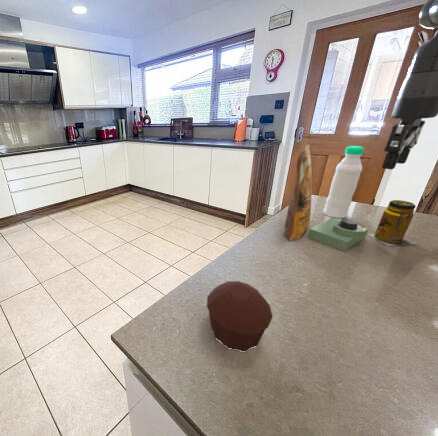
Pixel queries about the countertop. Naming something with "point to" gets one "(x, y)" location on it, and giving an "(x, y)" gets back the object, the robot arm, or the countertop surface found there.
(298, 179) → the pancake mix bag
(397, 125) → the robot arm
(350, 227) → the pump top
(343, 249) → the dispenser base
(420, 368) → the countertop surface
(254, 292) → the muffin
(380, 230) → the condiment
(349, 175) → the water bottle
